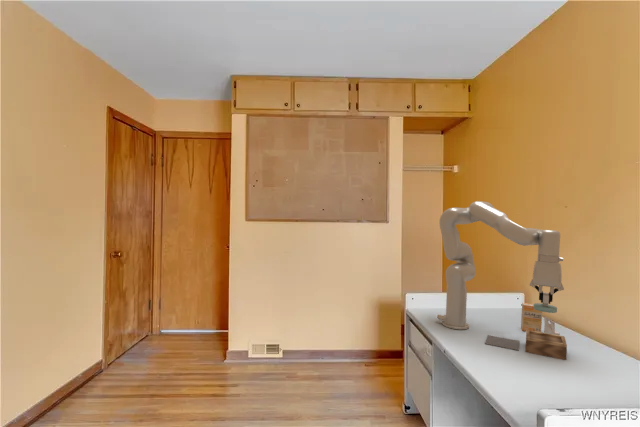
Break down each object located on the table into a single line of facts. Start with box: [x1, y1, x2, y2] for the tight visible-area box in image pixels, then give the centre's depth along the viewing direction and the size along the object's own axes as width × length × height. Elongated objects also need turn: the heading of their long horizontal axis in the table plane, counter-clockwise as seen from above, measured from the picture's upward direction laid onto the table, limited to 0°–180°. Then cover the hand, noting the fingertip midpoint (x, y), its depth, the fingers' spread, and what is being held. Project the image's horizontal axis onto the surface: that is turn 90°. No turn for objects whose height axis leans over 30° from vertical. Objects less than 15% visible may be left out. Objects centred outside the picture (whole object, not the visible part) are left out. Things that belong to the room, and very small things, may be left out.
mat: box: [484, 334, 520, 352], centre depth 158 cm, size 13×13×1 cm
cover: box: [533, 291, 558, 314], centre depth 150 cm, size 8×8×7 cm
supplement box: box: [520, 302, 543, 332], centre depth 177 cm, size 8×5×13 cm, turn 68°
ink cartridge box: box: [543, 315, 561, 336], centre depth 164 cm, size 2×11×10 cm, turn 168°
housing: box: [525, 330, 568, 361], centre depth 150 cm, size 14×12×6 cm
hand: (545, 302), depth 150 cm, fingers closed on cover
